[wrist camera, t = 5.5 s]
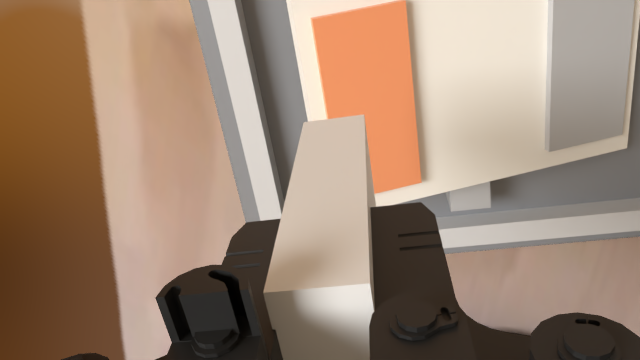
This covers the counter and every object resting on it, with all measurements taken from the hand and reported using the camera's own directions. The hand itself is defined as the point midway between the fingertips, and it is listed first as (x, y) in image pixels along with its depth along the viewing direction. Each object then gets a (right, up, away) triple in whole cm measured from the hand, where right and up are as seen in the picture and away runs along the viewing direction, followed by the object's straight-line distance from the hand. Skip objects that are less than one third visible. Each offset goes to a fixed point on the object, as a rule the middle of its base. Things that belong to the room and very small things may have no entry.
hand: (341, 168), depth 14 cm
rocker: (+5, +4, +6) cm, 9 cm away
